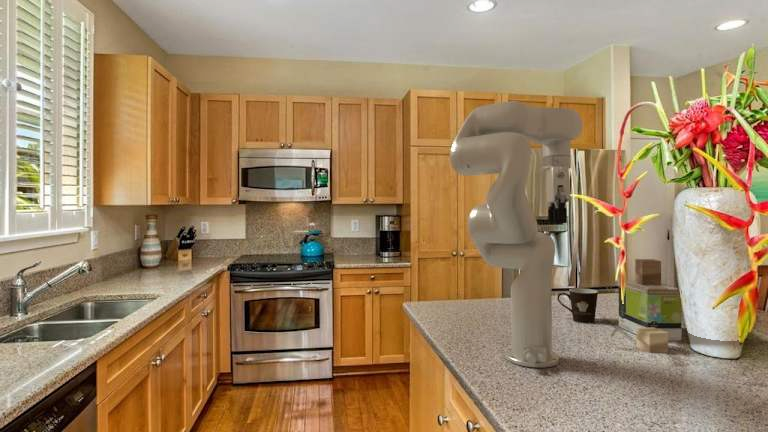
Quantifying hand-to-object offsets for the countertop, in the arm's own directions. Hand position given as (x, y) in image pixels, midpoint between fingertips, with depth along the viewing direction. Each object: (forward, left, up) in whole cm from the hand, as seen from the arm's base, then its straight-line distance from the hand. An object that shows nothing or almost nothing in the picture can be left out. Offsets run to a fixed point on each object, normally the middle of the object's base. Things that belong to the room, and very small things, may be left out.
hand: (557, 222), depth 120 cm
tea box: (+8, -27, -34) cm, 44 cm away
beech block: (-7, -22, -33) cm, 40 cm away
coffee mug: (+21, -11, -33) cm, 41 cm away
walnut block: (+8, -27, -19) cm, 33 cm away
